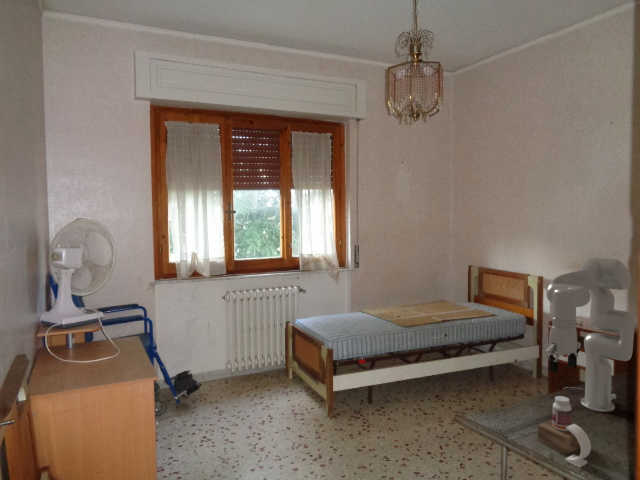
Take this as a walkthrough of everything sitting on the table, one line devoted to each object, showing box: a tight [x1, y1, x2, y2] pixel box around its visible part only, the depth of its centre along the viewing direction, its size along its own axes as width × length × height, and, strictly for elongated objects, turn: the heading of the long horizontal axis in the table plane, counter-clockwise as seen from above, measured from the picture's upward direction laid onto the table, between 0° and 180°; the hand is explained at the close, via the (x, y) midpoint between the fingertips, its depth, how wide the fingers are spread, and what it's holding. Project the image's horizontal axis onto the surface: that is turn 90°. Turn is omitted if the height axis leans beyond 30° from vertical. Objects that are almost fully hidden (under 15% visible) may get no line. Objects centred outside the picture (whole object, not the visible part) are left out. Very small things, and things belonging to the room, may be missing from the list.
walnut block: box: [537, 420, 587, 455], centre depth 172 cm, size 11×11×6 cm
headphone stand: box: [564, 423, 592, 468], centre depth 159 cm, size 5×6×12 cm
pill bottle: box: [551, 395, 572, 431], centre depth 171 cm, size 6×6×11 cm
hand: (563, 369), depth 170 cm, fingers open, 9 cm apart
